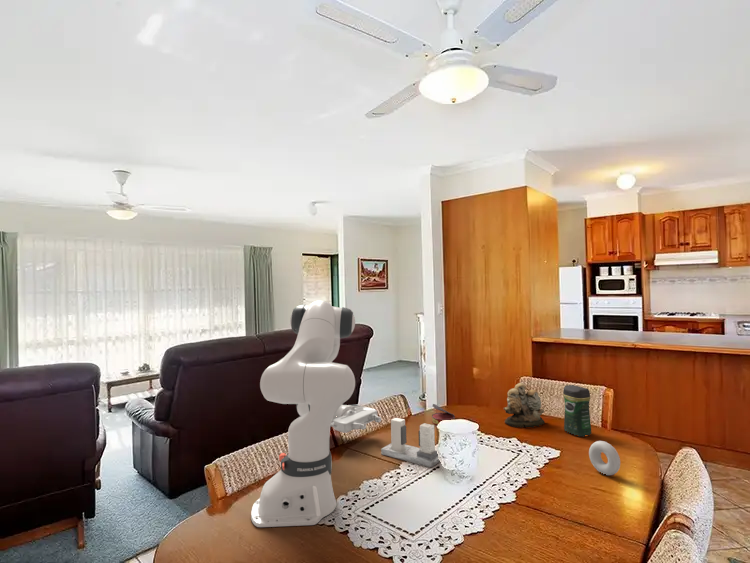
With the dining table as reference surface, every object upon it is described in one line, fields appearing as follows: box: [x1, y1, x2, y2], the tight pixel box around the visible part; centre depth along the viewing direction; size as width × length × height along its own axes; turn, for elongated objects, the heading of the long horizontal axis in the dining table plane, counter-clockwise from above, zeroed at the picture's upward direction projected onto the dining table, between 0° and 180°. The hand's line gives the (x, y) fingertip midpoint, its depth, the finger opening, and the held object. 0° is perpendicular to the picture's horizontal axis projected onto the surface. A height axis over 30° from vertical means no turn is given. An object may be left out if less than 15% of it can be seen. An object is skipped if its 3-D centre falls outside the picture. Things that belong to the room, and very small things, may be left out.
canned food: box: [431, 403, 456, 426], centre depth 184 cm, size 11×10×10 cm
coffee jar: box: [562, 384, 592, 437], centre depth 167 cm, size 10×8×19 cm
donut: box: [588, 440, 621, 476], centre depth 131 cm, size 10×4×10 cm, turn 23°
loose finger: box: [390, 417, 408, 452], centre depth 150 cm, size 5×3×12 cm, turn 53°
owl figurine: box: [503, 382, 545, 428], centre depth 181 cm, size 18×12×17 cm, turn 103°
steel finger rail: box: [380, 422, 440, 468], centre depth 147 cm, size 20×8×12 cm, turn 53°
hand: (372, 423), depth 157 cm, fingers open, 8 cm apart
